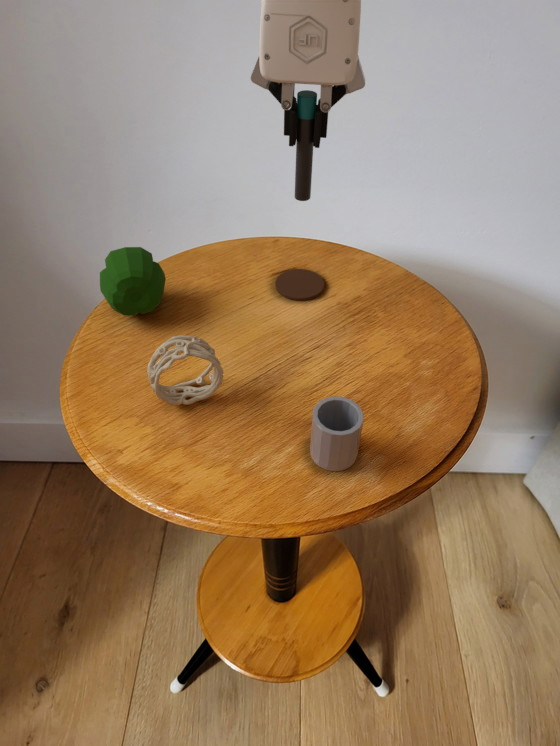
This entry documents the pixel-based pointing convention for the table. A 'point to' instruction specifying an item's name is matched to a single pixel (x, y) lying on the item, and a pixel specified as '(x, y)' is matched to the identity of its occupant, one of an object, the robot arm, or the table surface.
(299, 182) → the marker
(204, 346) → the bracelet
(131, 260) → the bell pepper
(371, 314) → the table surface
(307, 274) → the coaster
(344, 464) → the pot
